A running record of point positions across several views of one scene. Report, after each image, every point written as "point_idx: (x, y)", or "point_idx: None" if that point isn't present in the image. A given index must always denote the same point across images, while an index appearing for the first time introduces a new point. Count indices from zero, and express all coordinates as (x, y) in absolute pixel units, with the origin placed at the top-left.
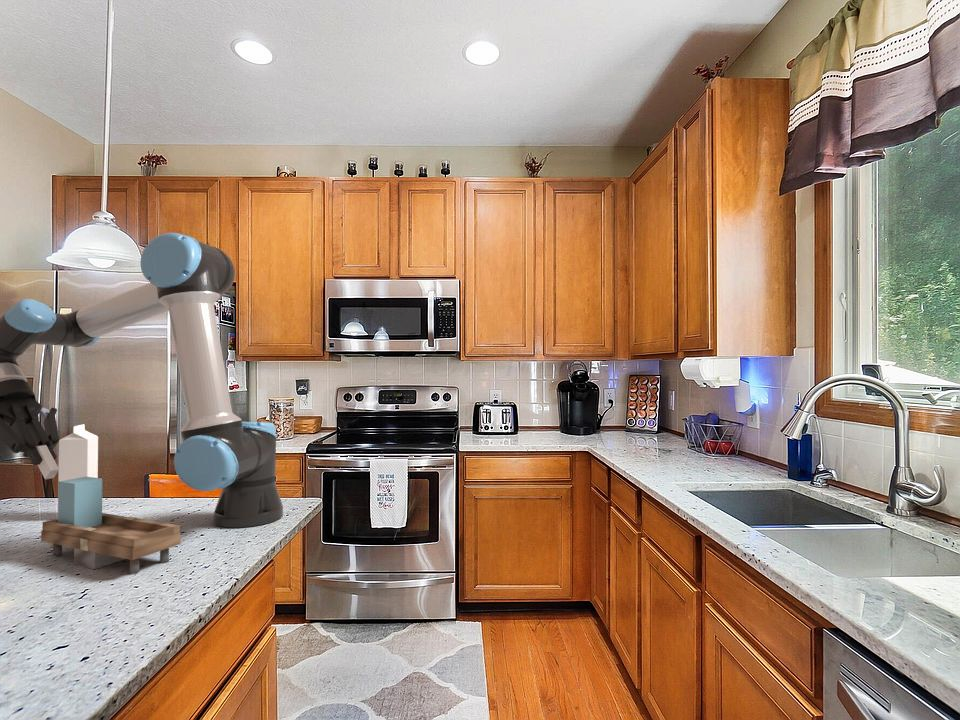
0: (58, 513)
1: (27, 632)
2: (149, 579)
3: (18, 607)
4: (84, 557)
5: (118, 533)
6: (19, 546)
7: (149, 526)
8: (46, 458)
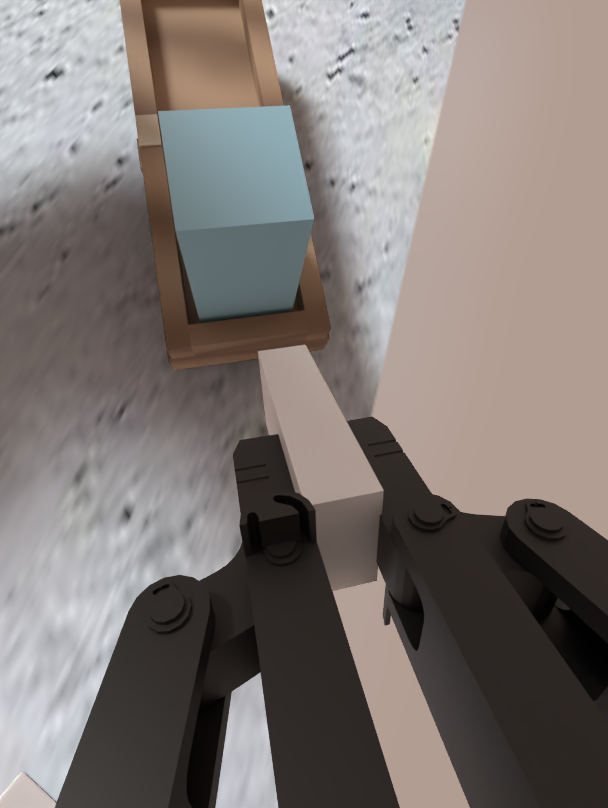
0: (295, 292)
1: (443, 3)
2: None
3: (429, 99)
4: None
5: (250, 24)
6: None
7: (148, 49)
8: (321, 396)
